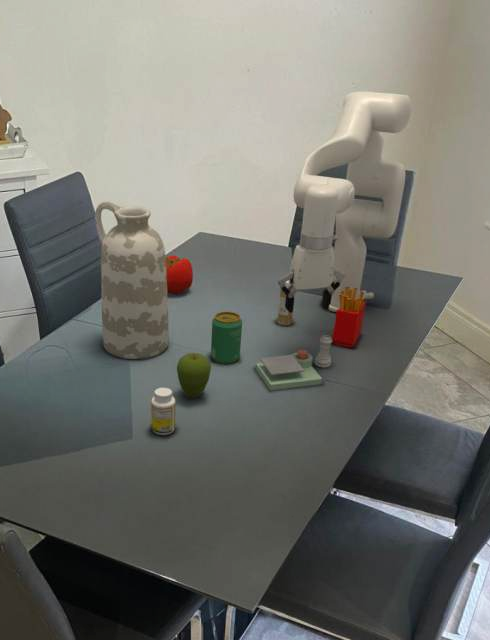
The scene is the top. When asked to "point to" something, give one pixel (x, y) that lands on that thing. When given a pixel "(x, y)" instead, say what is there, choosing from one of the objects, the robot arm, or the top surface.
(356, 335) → the french fries container
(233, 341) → the beverage can
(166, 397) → the supplement bottle
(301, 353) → the tare button
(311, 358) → the scale
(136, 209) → the vase
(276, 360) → the scale pan
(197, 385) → the apple
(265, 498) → the top surface
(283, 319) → the sprinkles bottle
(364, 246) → the robot arm
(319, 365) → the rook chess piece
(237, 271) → the top surface
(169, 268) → the tomato
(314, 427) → the top surface
